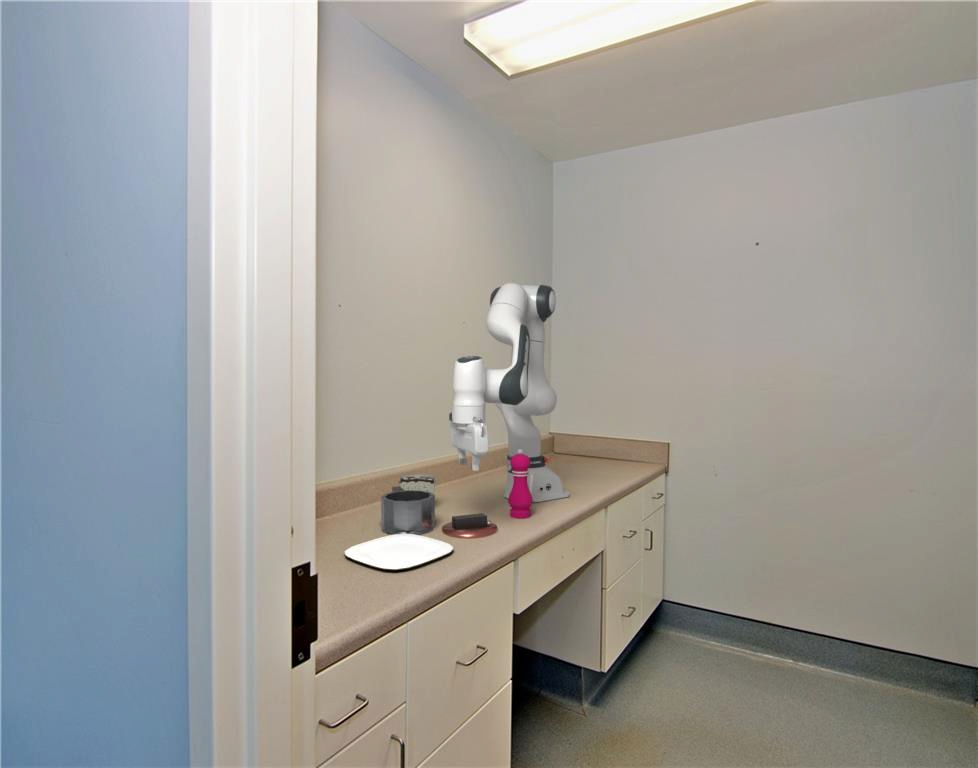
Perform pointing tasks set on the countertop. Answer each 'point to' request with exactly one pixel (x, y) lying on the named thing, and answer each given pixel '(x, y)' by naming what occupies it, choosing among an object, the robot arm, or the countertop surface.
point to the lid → (469, 527)
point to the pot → (407, 512)
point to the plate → (398, 551)
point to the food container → (418, 482)
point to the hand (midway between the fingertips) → (468, 467)
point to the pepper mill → (520, 487)
